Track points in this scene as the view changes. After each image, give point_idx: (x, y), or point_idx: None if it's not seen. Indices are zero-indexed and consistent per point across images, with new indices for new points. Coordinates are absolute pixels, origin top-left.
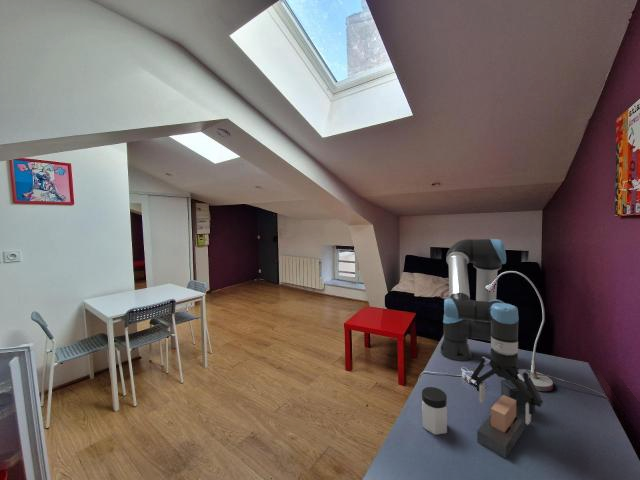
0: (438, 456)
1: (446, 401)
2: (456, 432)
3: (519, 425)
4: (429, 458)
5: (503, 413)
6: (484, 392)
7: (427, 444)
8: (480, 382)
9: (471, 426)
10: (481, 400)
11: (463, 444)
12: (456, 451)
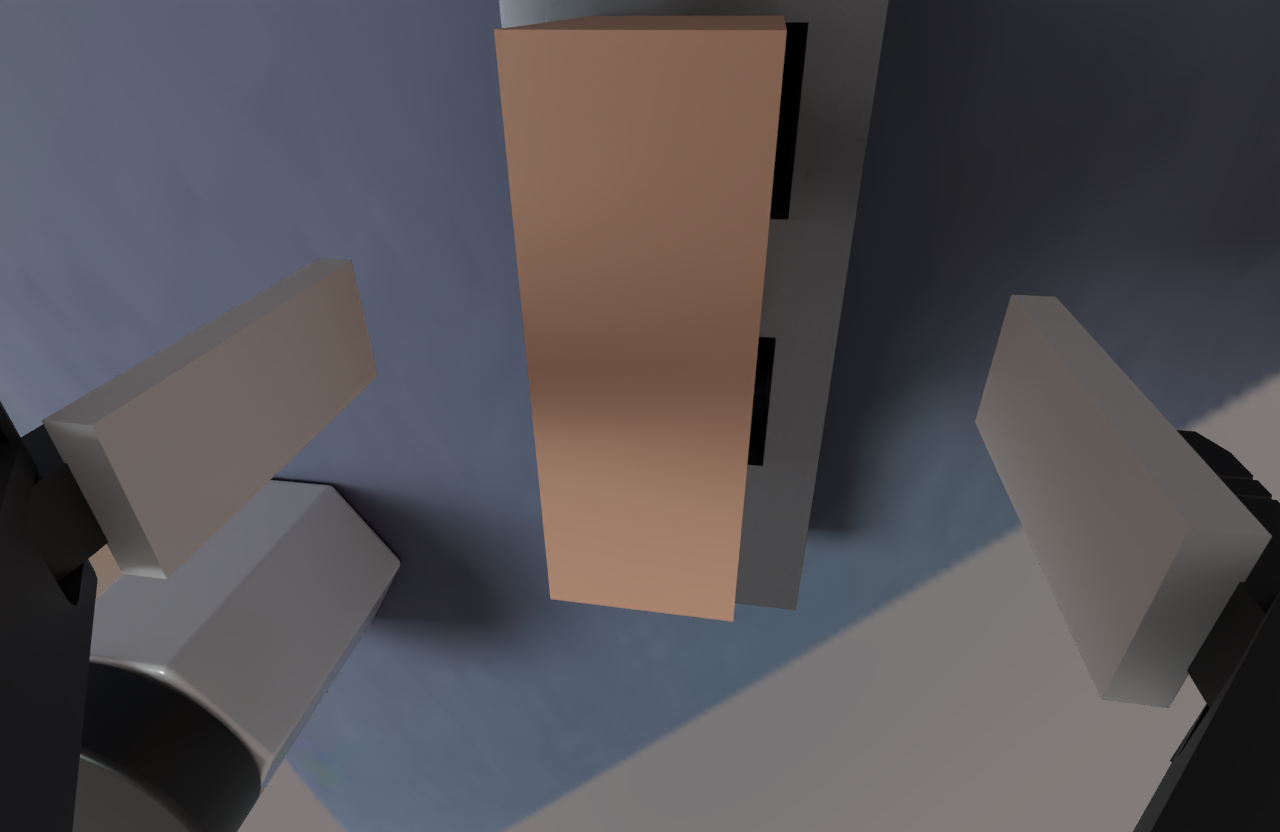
0: (493, 725)
1: (216, 778)
2: (434, 512)
3: (856, 211)
4: (474, 754)
5: (710, 601)
6: (271, 321)
7: (403, 693)
8: (92, 609)
9: (460, 370)
10: (356, 394)
11: (530, 581)
12: (534, 651)
